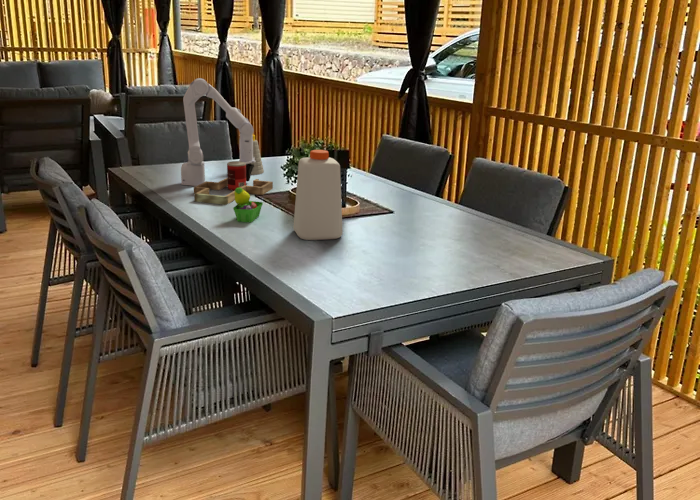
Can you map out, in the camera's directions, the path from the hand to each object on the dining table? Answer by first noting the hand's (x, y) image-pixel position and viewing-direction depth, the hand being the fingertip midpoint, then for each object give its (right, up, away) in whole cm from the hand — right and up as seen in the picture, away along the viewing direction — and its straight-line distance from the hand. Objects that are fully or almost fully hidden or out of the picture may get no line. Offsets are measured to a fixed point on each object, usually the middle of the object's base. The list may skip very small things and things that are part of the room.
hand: (246, 181), depth 289 cm
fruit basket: (+8, -19, -52) cm, 56 cm away
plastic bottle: (+34, -25, -67) cm, 79 cm away
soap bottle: (-2, +6, +22) cm, 23 cm away
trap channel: (-4, -7, -18) cm, 20 cm away
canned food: (-3, -4, -10) cm, 11 cm away
